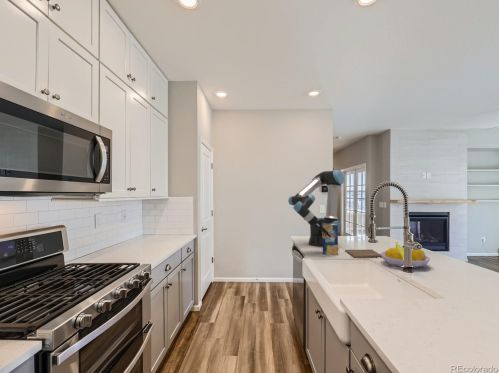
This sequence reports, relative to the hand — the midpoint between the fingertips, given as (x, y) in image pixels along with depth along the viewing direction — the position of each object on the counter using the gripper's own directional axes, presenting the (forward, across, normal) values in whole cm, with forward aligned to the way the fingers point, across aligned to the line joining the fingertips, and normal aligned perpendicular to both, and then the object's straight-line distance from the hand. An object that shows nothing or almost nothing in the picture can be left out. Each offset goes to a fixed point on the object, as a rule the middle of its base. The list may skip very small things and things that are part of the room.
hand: (331, 238), depth 196 cm
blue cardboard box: (+8, 0, -9) cm, 12 cm away
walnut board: (+24, +3, +8) cm, 25 cm away
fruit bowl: (+35, +28, +19) cm, 49 cm away
